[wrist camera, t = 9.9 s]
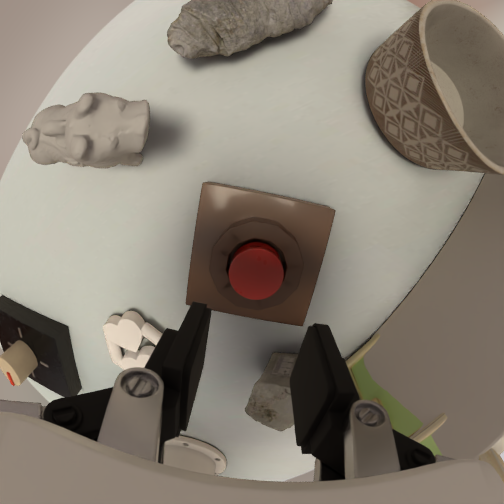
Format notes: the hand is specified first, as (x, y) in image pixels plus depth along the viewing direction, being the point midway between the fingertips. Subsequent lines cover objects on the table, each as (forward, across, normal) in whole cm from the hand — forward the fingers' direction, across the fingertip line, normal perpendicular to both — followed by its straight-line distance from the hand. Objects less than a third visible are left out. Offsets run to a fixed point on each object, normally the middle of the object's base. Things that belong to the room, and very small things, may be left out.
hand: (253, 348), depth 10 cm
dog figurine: (+13, +14, -8) cm, 21 cm away
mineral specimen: (+13, -5, +11) cm, 18 cm away
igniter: (+13, 0, 0) cm, 13 cm away
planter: (+13, -12, -17) cm, 25 cm away
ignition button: (+10, 0, 0) cm, 10 cm away
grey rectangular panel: (+13, -21, -4) cm, 25 cm away
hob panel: (+13, +27, +19) cm, 36 cm away
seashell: (+13, +4, -20) cm, 24 cm away
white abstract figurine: (+13, +9, +14) cm, 21 cm away
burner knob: (+10, +27, +19) cm, 35 cm away
